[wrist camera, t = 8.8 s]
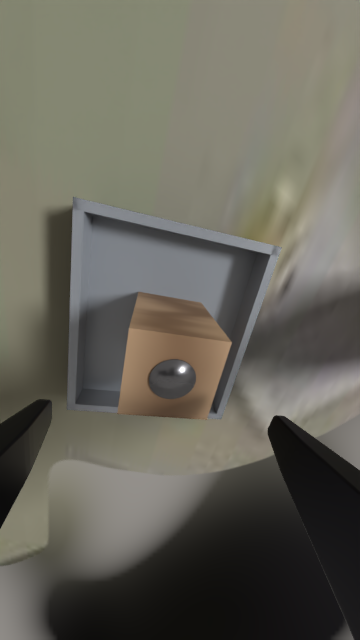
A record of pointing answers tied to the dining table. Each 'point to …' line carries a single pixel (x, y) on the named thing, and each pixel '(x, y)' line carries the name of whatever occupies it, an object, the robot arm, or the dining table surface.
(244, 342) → the tray
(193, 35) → the dining table surface
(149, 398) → the wooden block with knob
